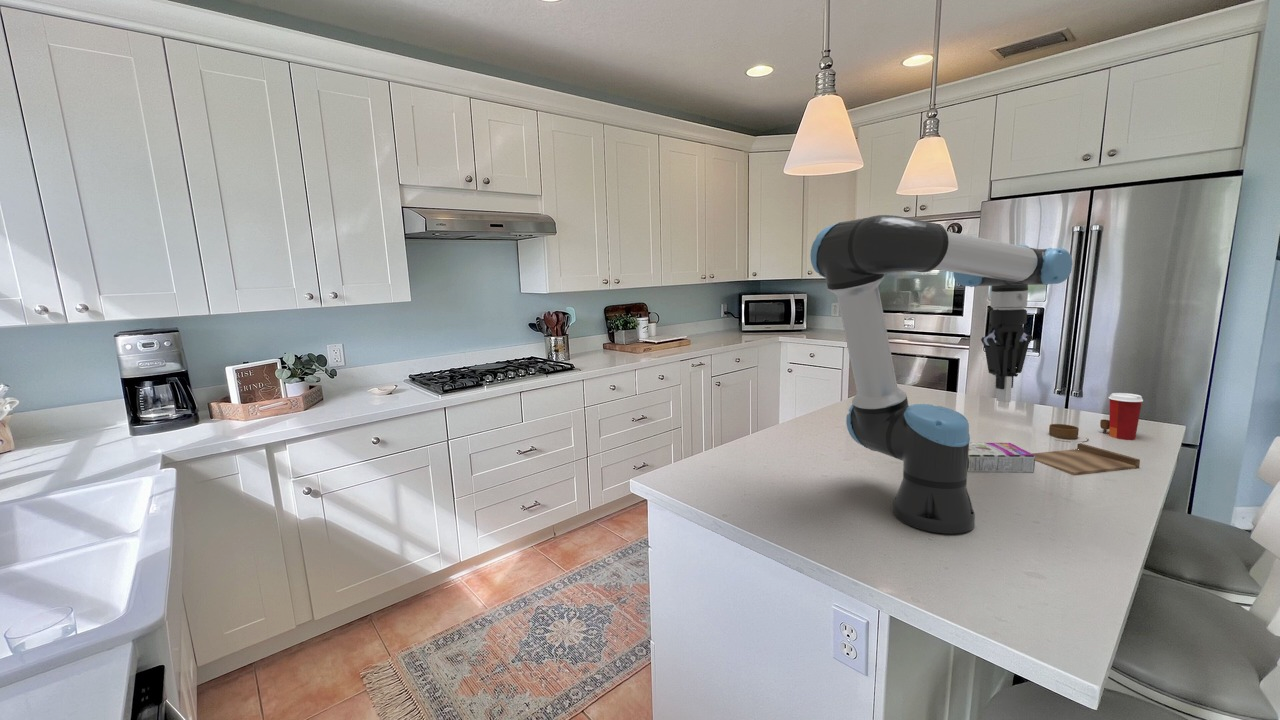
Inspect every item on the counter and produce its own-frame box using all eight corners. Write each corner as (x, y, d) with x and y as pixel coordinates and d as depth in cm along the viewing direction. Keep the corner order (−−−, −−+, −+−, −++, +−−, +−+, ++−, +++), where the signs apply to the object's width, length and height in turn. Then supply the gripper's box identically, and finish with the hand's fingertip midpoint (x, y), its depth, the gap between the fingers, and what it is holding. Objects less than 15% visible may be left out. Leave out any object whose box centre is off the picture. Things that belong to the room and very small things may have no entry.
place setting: (1029, 433, 169) (1031, 415, 169) (1107, 437, 162) (1108, 419, 161) (1049, 448, 153) (1050, 428, 153) (1135, 454, 146) (1137, 433, 145)
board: (1073, 475, 130) (1074, 466, 129) (1020, 457, 144) (1020, 449, 144) (1139, 468, 133) (1140, 459, 133) (1080, 451, 148) (1081, 443, 148)
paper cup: (1145, 441, 155) (1149, 395, 153) (1130, 445, 152) (1134, 398, 150) (1113, 435, 162) (1117, 391, 160) (1098, 438, 159) (1102, 393, 157)
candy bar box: (1009, 459, 143) (946, 458, 145) (1010, 442, 142) (947, 441, 144) (1034, 474, 132) (966, 472, 134) (1036, 455, 131) (967, 454, 133)
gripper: (998, 310, 124) (993, 406, 128) (1044, 307, 127) (1038, 402, 130) (973, 309, 132) (969, 400, 135) (1017, 307, 134) (1012, 396, 137)
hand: (1003, 401), depth 132 cm, fingers closed
